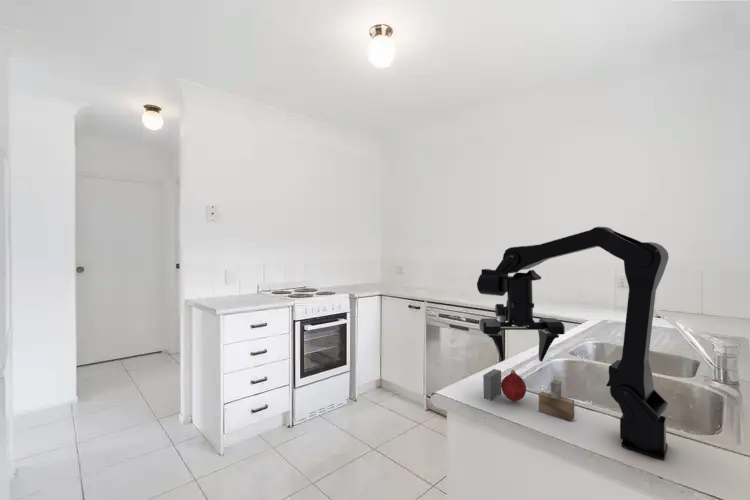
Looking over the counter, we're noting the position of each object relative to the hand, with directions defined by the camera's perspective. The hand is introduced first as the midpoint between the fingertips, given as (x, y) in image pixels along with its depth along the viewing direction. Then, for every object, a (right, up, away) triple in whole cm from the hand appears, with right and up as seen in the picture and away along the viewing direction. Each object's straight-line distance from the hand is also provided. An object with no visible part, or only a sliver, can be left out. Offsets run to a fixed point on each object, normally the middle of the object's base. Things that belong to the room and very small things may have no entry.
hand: (521, 360), depth 86 cm
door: (+6, -11, -5) cm, 13 cm away
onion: (-1, -11, +1) cm, 11 cm away
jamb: (-5, -11, +5) cm, 13 cm away
